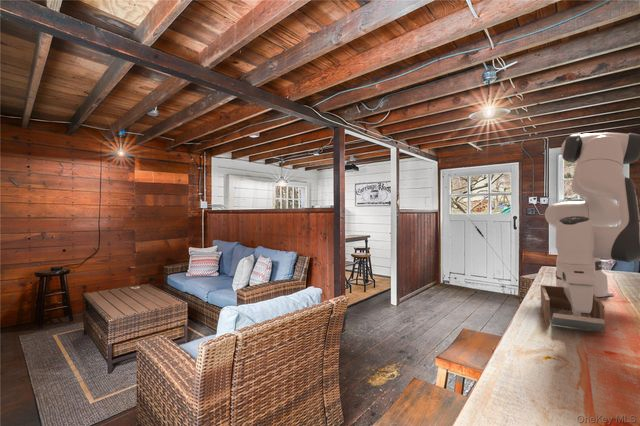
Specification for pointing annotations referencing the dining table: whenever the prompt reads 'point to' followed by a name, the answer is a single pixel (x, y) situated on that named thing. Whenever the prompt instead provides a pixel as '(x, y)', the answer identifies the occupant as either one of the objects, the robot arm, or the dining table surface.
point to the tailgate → (577, 322)
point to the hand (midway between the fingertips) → (576, 317)
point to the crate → (566, 303)
